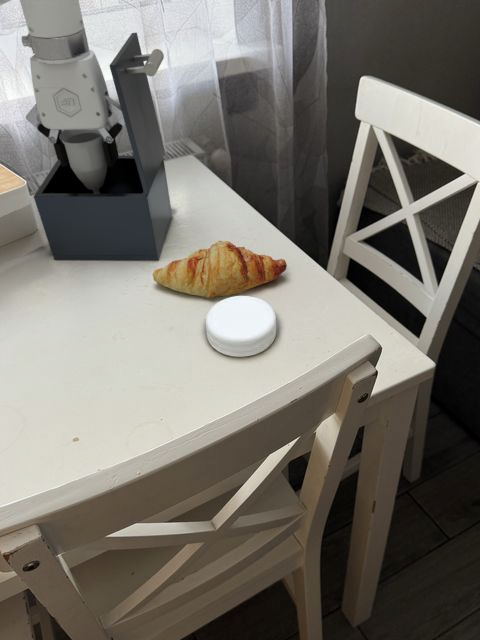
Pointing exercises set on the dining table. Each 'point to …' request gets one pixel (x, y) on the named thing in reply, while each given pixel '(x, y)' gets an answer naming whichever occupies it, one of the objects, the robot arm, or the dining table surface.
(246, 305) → the white short cylinder
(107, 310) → the dining table surface
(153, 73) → the lid
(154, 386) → the dining table surface
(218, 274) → the croissant
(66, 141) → the chalice
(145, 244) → the dark grey box
